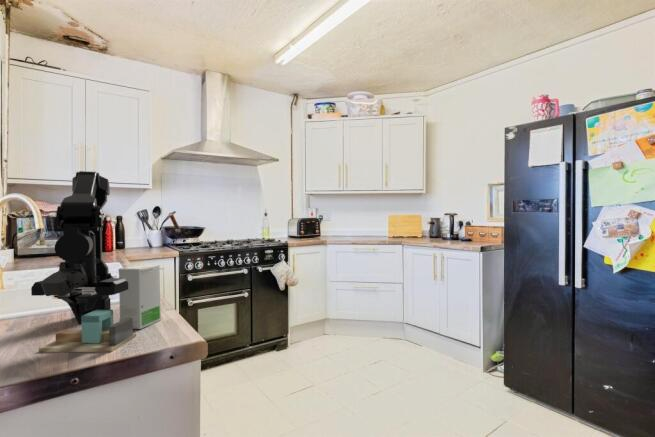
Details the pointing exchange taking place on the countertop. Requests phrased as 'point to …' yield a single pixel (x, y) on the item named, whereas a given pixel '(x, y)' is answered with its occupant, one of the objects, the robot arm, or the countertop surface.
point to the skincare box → (141, 295)
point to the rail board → (110, 342)
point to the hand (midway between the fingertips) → (82, 324)
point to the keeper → (95, 325)
